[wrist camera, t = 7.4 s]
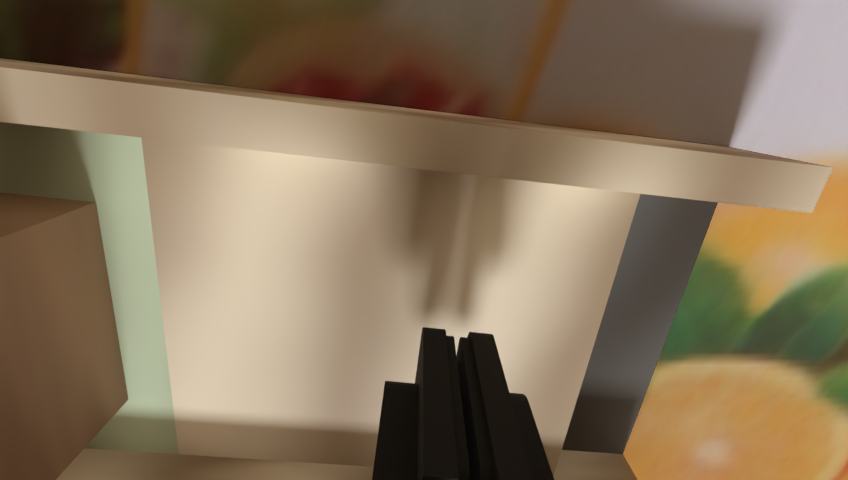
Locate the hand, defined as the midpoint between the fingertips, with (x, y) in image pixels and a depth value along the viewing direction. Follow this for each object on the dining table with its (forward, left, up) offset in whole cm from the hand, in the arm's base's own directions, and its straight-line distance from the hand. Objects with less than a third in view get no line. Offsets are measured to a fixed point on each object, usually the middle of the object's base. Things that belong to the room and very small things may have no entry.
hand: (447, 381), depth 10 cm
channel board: (+7, 0, -3) cm, 7 cm away
